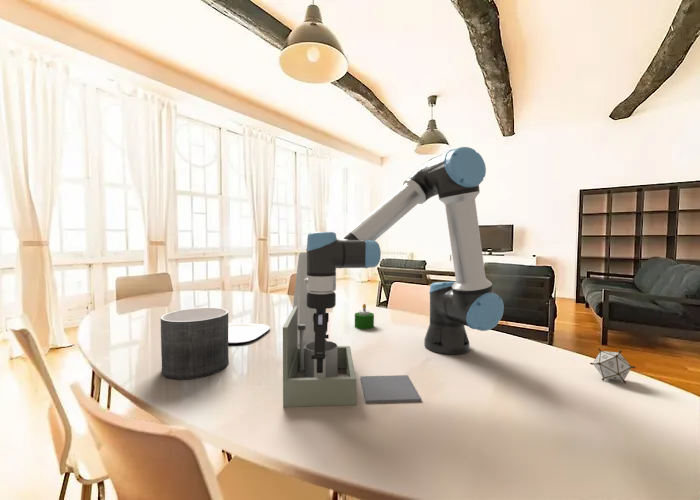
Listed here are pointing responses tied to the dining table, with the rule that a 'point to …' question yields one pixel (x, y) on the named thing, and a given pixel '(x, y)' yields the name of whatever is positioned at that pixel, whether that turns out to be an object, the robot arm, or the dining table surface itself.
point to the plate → (245, 332)
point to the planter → (194, 342)
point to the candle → (364, 319)
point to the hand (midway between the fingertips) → (320, 372)
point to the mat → (389, 389)
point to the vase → (303, 301)
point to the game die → (612, 365)
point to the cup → (330, 359)
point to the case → (313, 389)
